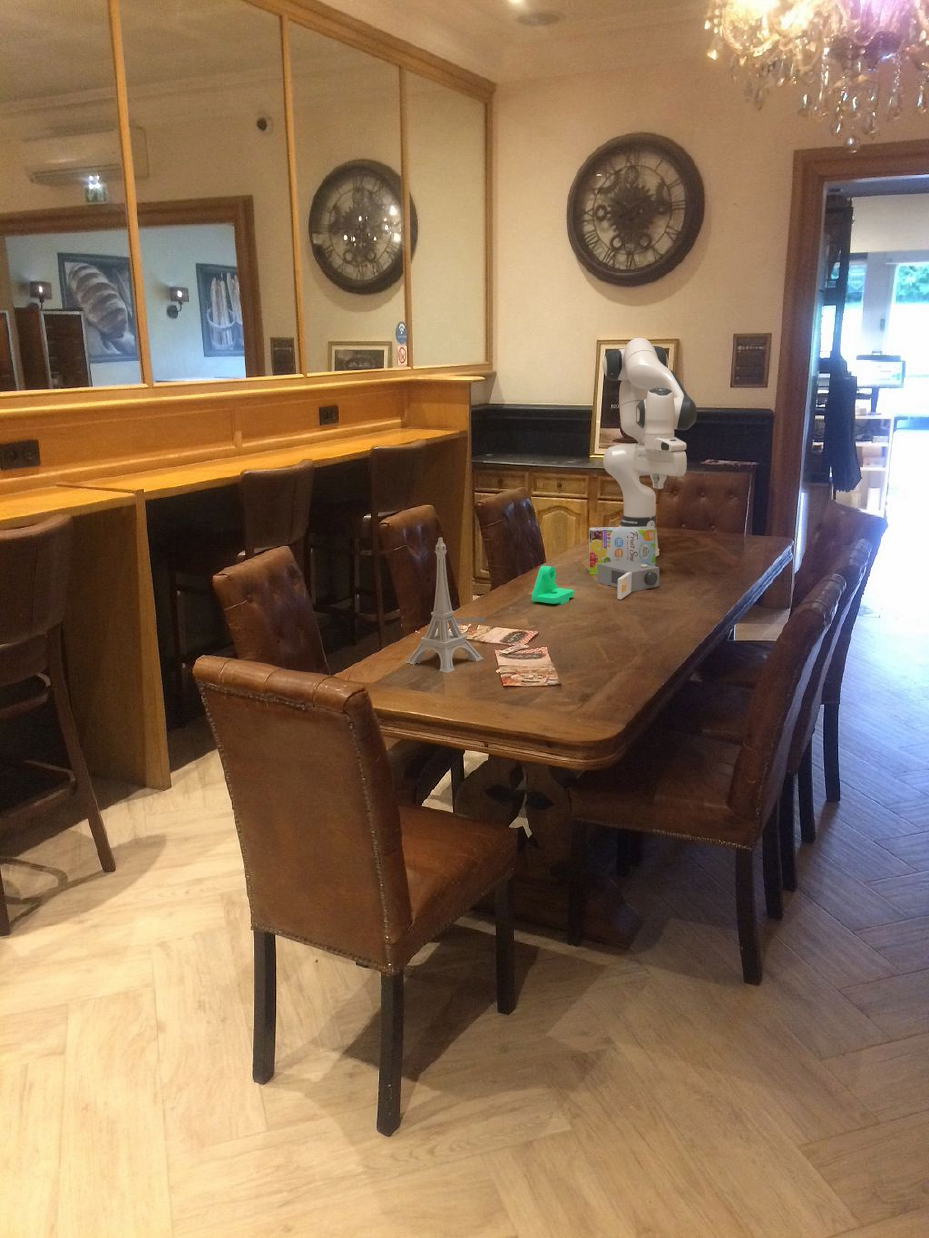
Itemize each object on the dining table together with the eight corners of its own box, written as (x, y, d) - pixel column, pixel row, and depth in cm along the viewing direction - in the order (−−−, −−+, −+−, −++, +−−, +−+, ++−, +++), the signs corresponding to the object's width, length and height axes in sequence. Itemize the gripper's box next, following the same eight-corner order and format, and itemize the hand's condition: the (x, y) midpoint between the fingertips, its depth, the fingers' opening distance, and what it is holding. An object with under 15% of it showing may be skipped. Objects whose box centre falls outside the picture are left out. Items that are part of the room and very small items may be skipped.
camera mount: (554, 607, 283) (554, 572, 281) (531, 604, 288) (531, 569, 285) (575, 598, 293) (575, 564, 290) (553, 595, 297) (553, 562, 294)
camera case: (597, 582, 311) (597, 561, 309) (623, 577, 316) (624, 556, 315) (635, 592, 297) (635, 570, 295) (662, 587, 302) (662, 565, 300)
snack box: (653, 571, 325) (654, 525, 321) (655, 575, 319) (656, 528, 315) (588, 571, 327) (588, 526, 323) (589, 575, 321) (589, 529, 317)
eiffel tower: (441, 650, 246) (437, 531, 238) (483, 659, 238) (480, 536, 230) (405, 663, 236) (399, 539, 228) (447, 673, 228) (443, 545, 220)
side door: (624, 599, 288) (624, 579, 287) (617, 598, 289) (617, 579, 287) (634, 591, 297) (634, 572, 295) (628, 591, 298) (628, 571, 296)
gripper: (628, 441, 308) (627, 485, 312) (675, 446, 292) (673, 492, 295) (643, 440, 311) (642, 484, 315) (690, 444, 295) (689, 490, 299)
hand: (658, 488), depth 305 cm, fingers closed
